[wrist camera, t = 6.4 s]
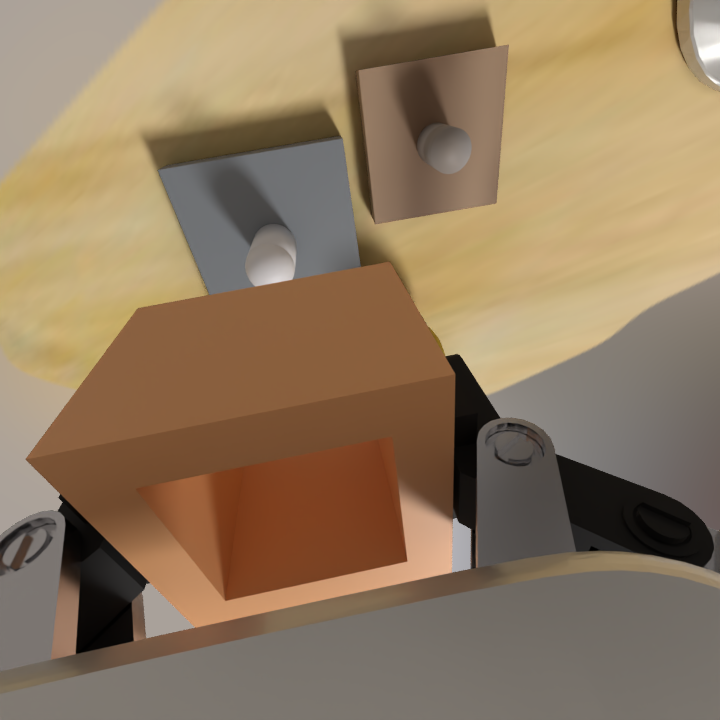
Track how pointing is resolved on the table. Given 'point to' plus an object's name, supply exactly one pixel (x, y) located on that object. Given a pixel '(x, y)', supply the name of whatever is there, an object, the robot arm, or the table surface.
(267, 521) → the collar
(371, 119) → the stand
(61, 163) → the table surface
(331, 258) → the plate
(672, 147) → the table surface
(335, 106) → the table surface
